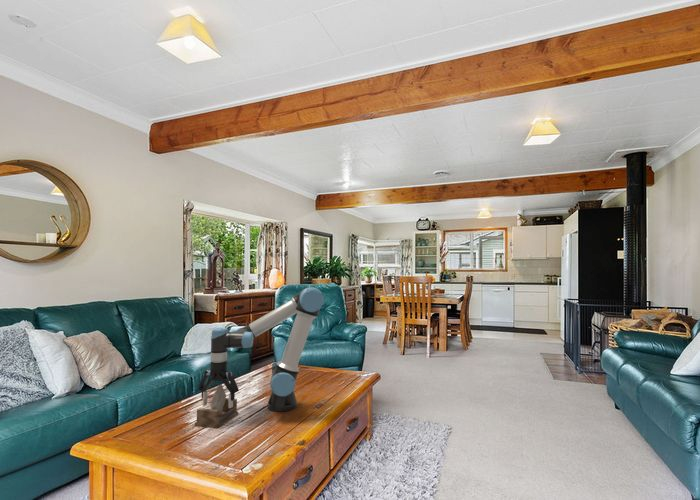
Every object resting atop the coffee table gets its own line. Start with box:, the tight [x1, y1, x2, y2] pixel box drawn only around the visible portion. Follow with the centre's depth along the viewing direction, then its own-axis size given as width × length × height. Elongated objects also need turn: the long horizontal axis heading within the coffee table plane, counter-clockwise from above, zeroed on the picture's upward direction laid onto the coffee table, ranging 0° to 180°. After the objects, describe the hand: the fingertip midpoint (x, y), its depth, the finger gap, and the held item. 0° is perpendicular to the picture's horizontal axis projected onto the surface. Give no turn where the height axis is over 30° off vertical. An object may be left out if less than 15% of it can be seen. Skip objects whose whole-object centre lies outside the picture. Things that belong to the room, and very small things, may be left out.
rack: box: [194, 397, 239, 429], centre depth 181 cm, size 12×18×7 cm, turn 167°
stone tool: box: [210, 383, 227, 416], centre depth 181 cm, size 11×4×15 cm, turn 164°
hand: (217, 406), depth 181 cm, fingers open, 13 cm apart
